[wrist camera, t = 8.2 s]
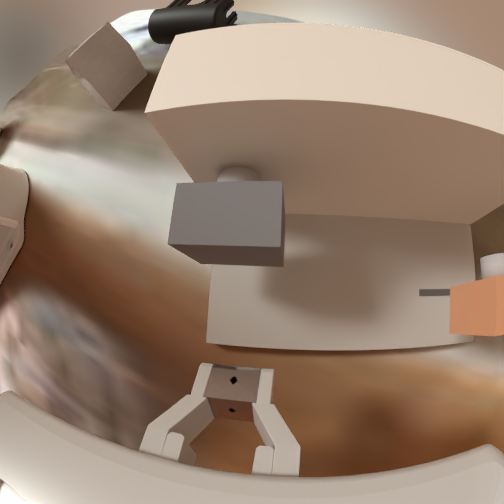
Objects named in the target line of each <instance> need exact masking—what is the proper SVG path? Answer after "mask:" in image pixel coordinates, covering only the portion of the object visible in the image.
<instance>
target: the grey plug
mask: <svg viewBox="0 0 504 504" xmlns="http://www.w3.org/2000/svg"><path fill="white" fill-rule="evenodd" d="M168 244H169V245H170V246H172V247H174V248H175V249H177V250H179V251H180V252H182V253H184V254H185V255H187V256H189V257H190V258H192V259H194V260H196V261H197V262H199V263H201V264H217V265H242V266H268V267H284V246H285V206H284V193H283V181H261V176H260V174H259V173H257V172H256V171H254V170H252V169H249V168H244V167H229V168H225V169H223V170H221V171H220V172H219V173H218V178H217V182H195V183H177V186H176V192H175V198H174V204H173V210H172V217H171V224H170V231H169V239H168Z"/></svg>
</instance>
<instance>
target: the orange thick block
mask: <svg viewBox="0 0 504 504" xmlns="http://www.w3.org/2000/svg"><path fill="white" fill-rule="evenodd" d="M480 263H481V280H477V281H473V282H469V283H465V284H461V285H457V286H452V287H450V327H449V334H461V335H478V336H500V335H504V253H498V254H492V255H488V256H484V257H482V258H481V259H480Z"/></svg>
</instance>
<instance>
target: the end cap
mask: <svg viewBox="0 0 504 504" xmlns="http://www.w3.org/2000/svg"><path fill="white" fill-rule="evenodd" d="M190 1H191V0H174V1H173V2H172V3H171V4H170V5H169V6H168V7H166V8H162V9H156V10H154V12H153V13H152V14H151V16H150V19H149V23H148V30H149V34H150V37H151V38H152V40H153V41H154V42H156V43H158V44H172V42H173V40H174V38H175V36H176V35H179V34H184V33H189V32H194V31H200V30H206V29H213V28H220V27H228V26H237V25H236V24H234V22H235V21H236V20H237V14H236V12H232V13H231V14H230V15H229V17H228V18H226V13H227V11H228V10H229V9H230V8H231V7H232V6H233V5H234V1H233V0H205V1H204V2H201V3H199V4H195V5H187V4H188V3H189V2H190Z"/></svg>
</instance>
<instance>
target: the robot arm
mask: <svg viewBox="0 0 504 504" xmlns="http://www.w3.org/2000/svg"><path fill="white" fill-rule="evenodd" d="M28 191H29V184H28V177H27V174H26V173H25V171H24V170H22V169H17V168H11V167H7V166H4V165H1V164H0V284H1V282H2V280H3V279H4V277H5V275H6V273H7V271H8V269H9V267H10V266H11V264H12V262H13V260H14V259H15V257H16V255H17V253H18V252H19V250H20V248H21V247H22V244H23V241H24V215H25V211H26V206H27V200H28ZM273 393H274V369H262V368H251V367H234V366H225V365H216V364H209V363H201V365H200V366H199V369H198V372H197V376H196V379H195V382H194V385H193V388H192V391H191V395H188V394H187V395H186V396H184V397H183V398H182V399H181V400H180V401H178V402H177V403H176V404H174V405H173V406H172V407H171V408H169V409H168V410H167V411H166V412H164V413H163V414H162V415H160V416H159V417H158V418H157V419H155V420H154V421H153V422H151V423H150V424H149V425H148V426H147V429H146V432H145V434H144V437H143V440H142V443H141V445H140V448H139V451H137V450H134V449H131V448H128V447H125V446H122V445H119V444H116V443H114V442H111V441H108V440H106V439H103V438H101V437H98V436H96V435H94V434H91V433H89V432H87V431H84V430H82V429H80V428H78V427H76V426H74V425H72V424H69V423H67V422H65V421H63V420H61V419H59V418H57V417H56V416H54V415H52V414H50V413H48V412H46V411H44V410H43V409H41V408H39V407H37V406H36V405H34V404H32V403H31V402H29V401H27V400H26V399H24V398H22V397H21V396H19V395H18V394H16V393H15V392H13V391H6V392H4V393H2V394H0V504H504V454H503V453H502V452H501V451H500V450H499V449H497V448H496V447H495V446H493V445H492V444H484V445H481V446H479V447H476V448H473V449H471V450H468V451H465V452H462V453H459V454H456V455H453V456H449V457H446V458H442V459H439V460H435V461H431V462H427V463H423V464H419V465H414V466H410V467H405V468H400V469H394V470H388V471H382V472H375V473H367V474H358V475H347V476H331V477H299V463H300V448H301V447H300V445H299V444H298V442H297V441H296V439H295V437H294V436H293V434H292V433H291V431H290V429H289V428H288V426H287V424H286V423H285V421H284V420H283V418H282V416H281V415H280V413H279V411H278V410H277V408H276V406H275V405H274V404H273ZM214 417H216V418H225V419H235V420H242V421H251V422H254V423H255V425H256V428H257V430H258V432H259V434H260V436H261V438H262V440H263V441H264V443H265V445H266V446H258V447H257V448H256V451H255V457H254V463H253V469H252V475H251V474H242V473H234V472H227V471H220V470H214V469H208V468H203V467H198V466H195V462H196V458H197V455H196V453H195V452H194V450H193V449H192V448H191V446H190V445H189V444H190V443H191V442H192V441H193V440H194V439H195V438H196V437H197V436H198V435H199V434H200V433H201V432H202V431H203V430H204V429H205V428H206V427H207V426H208V425H209V424H210V423H211V422H212V421H213V419H214Z"/></svg>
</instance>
